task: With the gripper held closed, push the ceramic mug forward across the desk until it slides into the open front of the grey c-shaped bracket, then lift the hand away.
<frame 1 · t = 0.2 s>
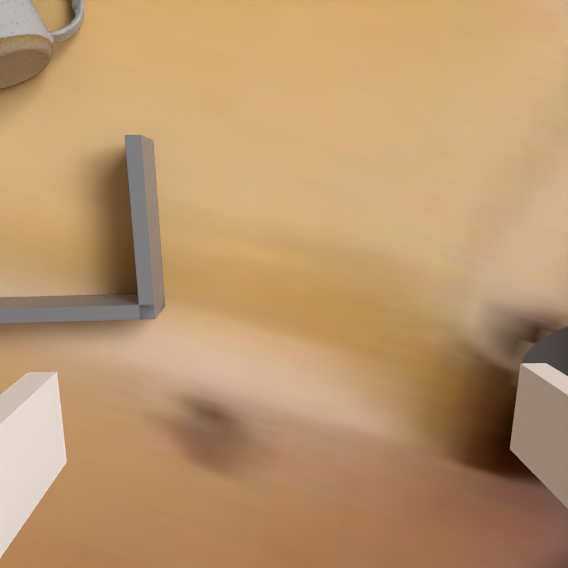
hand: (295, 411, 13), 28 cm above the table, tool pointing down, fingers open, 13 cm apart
ceramic mug: (20, 20, 35), on the table
grey c-shaped bracket: (42, 221, 38), on the table
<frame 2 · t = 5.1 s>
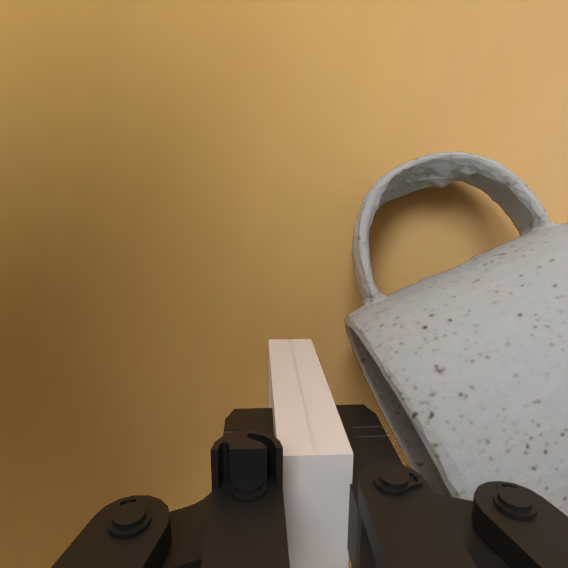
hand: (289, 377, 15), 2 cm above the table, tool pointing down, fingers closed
ceramic mug: (439, 305, 17), on the table, touching gripper
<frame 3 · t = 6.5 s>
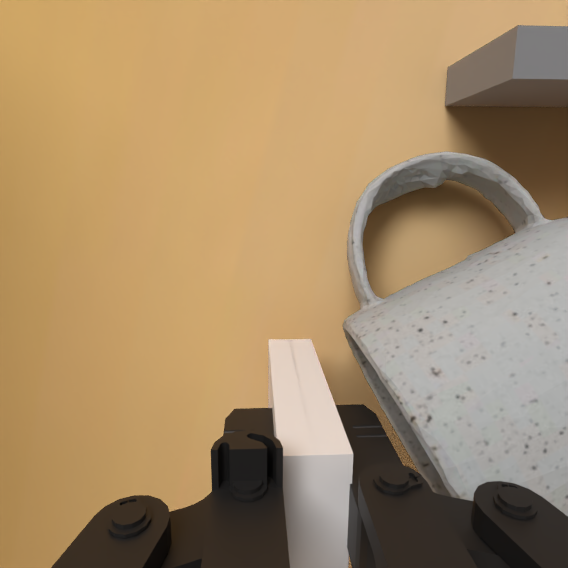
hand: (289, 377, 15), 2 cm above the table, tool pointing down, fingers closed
ceramic mug: (438, 304, 17), on the table, touching gripper
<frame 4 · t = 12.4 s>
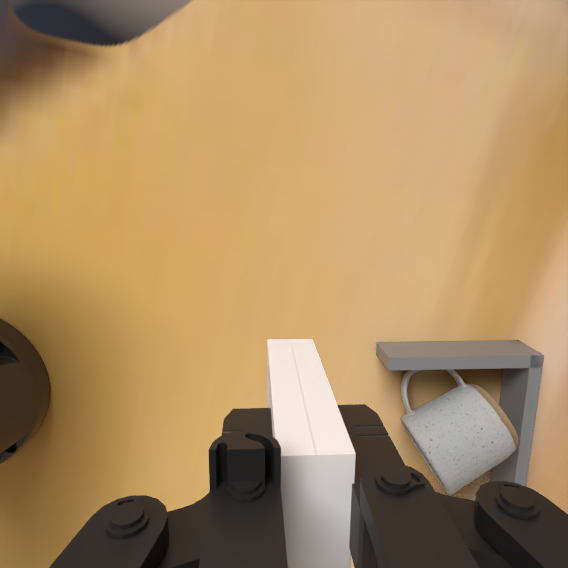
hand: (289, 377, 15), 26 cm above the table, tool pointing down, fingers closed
ceramic mug: (433, 404, 45), on the table
grey c-shaped bracket: (434, 431, 46), on the table
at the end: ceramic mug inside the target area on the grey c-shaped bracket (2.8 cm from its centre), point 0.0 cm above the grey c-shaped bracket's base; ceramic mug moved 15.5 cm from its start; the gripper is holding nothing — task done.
